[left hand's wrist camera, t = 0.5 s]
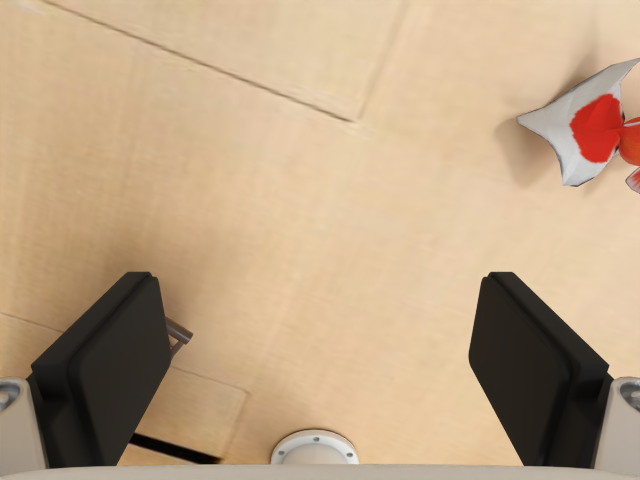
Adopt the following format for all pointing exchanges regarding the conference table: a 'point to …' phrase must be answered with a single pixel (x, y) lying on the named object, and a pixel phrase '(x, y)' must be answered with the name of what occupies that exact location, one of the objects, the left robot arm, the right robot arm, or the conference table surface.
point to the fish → (590, 127)
